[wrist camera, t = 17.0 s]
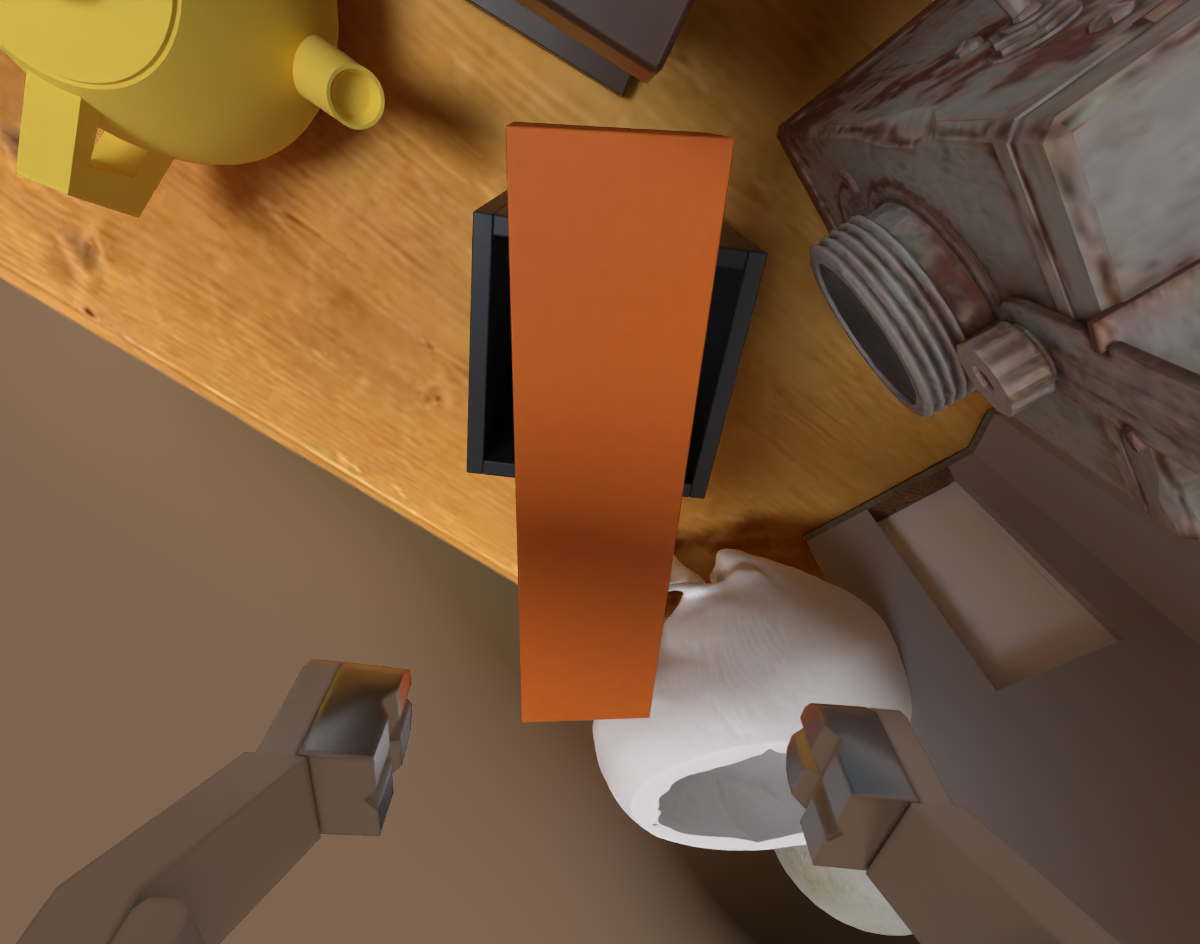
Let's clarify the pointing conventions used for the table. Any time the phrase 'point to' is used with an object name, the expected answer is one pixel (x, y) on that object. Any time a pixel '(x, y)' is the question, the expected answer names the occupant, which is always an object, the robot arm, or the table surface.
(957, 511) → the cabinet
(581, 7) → the stand
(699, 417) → the trash can
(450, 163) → the table surface
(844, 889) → the decorative sphere
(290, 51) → the teapot
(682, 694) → the skull
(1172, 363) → the lantern
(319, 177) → the table surface
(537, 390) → the orange rectangular bar
